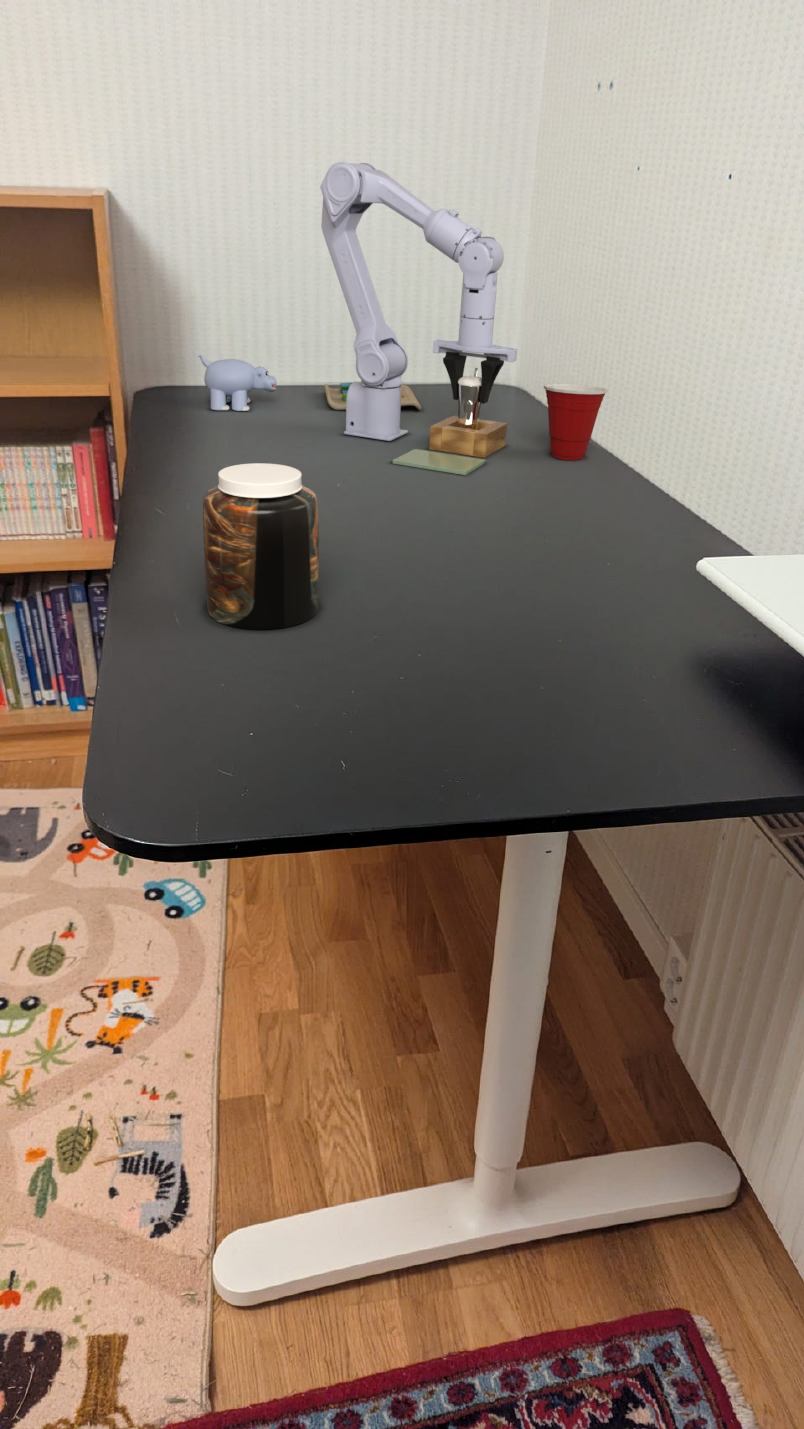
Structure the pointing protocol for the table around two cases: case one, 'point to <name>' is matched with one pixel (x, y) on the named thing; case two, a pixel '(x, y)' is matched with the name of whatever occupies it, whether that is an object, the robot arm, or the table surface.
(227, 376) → the hippopotamus toy
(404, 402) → the puzzle board
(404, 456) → the tile
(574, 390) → the plastic cup
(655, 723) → the table surface
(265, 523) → the jar
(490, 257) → the robot arm
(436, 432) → the holder
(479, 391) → the milkshake
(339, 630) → the table surface
